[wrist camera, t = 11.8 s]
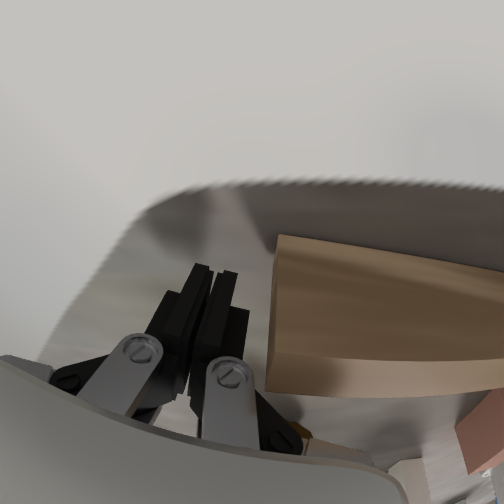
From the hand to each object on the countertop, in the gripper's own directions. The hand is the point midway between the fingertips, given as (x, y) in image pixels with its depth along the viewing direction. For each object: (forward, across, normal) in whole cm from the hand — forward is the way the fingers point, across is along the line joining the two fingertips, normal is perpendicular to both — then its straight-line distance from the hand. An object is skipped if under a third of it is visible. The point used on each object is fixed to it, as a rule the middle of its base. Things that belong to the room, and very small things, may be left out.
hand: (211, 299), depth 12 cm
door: (+2, -12, -3) cm, 13 cm away
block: (+2, -25, +8) cm, 26 cm away
